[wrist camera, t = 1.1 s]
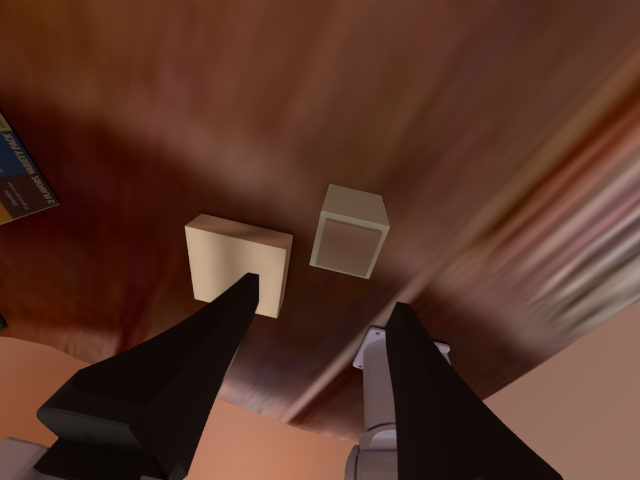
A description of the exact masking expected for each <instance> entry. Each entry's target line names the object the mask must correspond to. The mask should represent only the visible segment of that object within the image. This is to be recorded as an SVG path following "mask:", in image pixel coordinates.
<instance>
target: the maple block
mask: <svg viewBox="0 0 640 480" xmlns="http://www.w3.org/2000/svg"><path fill="white" fill-rule="evenodd" d="M185 230H186V238H187V245H188V252H189V260H190V267H191V274H192V282H193V289H194V296H195V299H198V300H202V301H206V302H211V301H213V300H214V299H215V298H217V297H218V296H219V295H221V294H222V293H223V292H224V291H226V290H227V289H228V288H229V287H231V286H232V285H233V284H234V283H235V282H237V281H238V280H239V279H240V278H241V277H242V276H244V275H245V274H246V273H248V272H250V273H255V274H259V304H258V307H257V310H256V312H255V313H257V314H261V315H265V316H270V317H274V318H277V317H278V314H279V311H280V308H281V305H282V302H283V299H284V292H285V286H286V279H287V273H288V266H289V260H290V253H291V246H292V240H293V235H290V234H286V233H282V232H278V231H273V230H269V229H265V228H261V227H256V226H252V225H248V224H244V223H239V222H235V221H231V220H227V219H222V218H218V217H214V216H210V215H205V214H201V215H199V216H198V217H197V218H195V219H194V220H193V221H191V222H190V223H189V224H187V225H186V226H185Z"/></svg>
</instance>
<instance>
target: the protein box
mask: <svg viewBox="0 0 640 480" xmlns="http://www.w3.org/2000/svg"><path fill="white" fill-rule="evenodd" d="M58 204H60V203H59V201H58V200H57V198H56V197H55V195H54V194H53V192H52V191H51V189H50V188H49V186H48V185H47V183H46V182H45V180H44V178H43V177H42V175H41V174H40V172H39V171H38V169H37V167H36V166H35V164H34V163H33V161H32V160H31V158H30V157H29V155H28V154H27V152H26V150H25V149H24V147H23V146H22V144H21V143H20V141H19V140H18V138H17V137H16V135H15V134H14V132H13V130H12V129H11V127H10V126H9V124H8V123H7V121H6V120H5V118H4V117H3V115H2V113H1V112H0V225H1V224H4V223H7V222H10V221H13V220H15V219H18V218H21V217H24V216H27V215H29V214H32V213H35V212H38V211H41V210H44V209H47V208H50V207H53V206H56V205H58Z"/></svg>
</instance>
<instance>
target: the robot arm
mask: <svg viewBox="0 0 640 480" xmlns="http://www.w3.org/2000/svg"><path fill="white" fill-rule="evenodd" d="M258 304H259V274H255V273H250V272H248V273H246V274H245V275H244V276H242V277H241V278H240V279H239V280H238V281H237V282H235V283H234V284H233V285H232V286H231V287H229V288H228V289H227V290H226V291H224V292H223V293H222V294H221V295H219V296H218V297H217V298H215V299H214V300H213V301H211V302H210V303H209V304H207V305H206V306H204V307H203V308H202V309H200V310H199V311H197V312H196V313H194V314H193V315H191V316H190V317H188V318H187V319H185V320H183V321H182V322H180V323H179V324H177V325H175V326H173V327H172V328H170V329H168V330H166V331H164V332H163V333H161V334H159V335H157V336H155V337H153V338H151V339H150V340H147V341H145V342H143V343H141V344H139V345H137V346H135V347H133V348H131V349H129V350H126V351H124V352H122V353H120V354H117V355H115V356H113V357H110V358H108V359H105V360H103V361H101V362H98V363H96V364H93V365H91V366H88V367H86V368H83V369H81V370H79V371H78V372H77V373H75V374H74V375H73V376H72V377H71V378H70V379H69V380H68V381H67V382H66V383H65V384H64V385H63V386H62V387H61V388H60V389H59V390H58V391H57V392H56V393H55V394H54V395H53V396H52V397H50V398H49V400H47V401H46V402H45V403H44V404H43V405H42V406H41V407H40V408H39V409H38V411H37V418H38V419H39V420H40V421H41V423H43V424H44V425H45V426H46V427H47V428H48V429H50V430H51V431H52V432H53V433H54V434H55V435H57V436H58V437H59V438H58V440H57V441H56V442H55V443H54V444H53V445H52V446H51V448H49V447H46V446H44V445H41V444H38V443H33V442H29V441H25V440H21V439H17V438H12V437H8V438H5V439H4V440H3V441H1V442H0V480H183V479H184V478H185V477H186V476H187V475H188V472H189V468H190V466H191V462H192V460H193V457H194V455H195V452H196V449H197V446H198V443H199V440H200V438H201V435H202V432H203V430H204V427H205V424H206V422H207V419H208V416H209V414H210V411H211V409H212V406H213V403H214V401H215V398H216V396H217V393H218V391H219V388H220V386H221V383H222V381H223V379H224V376H225V374H226V371H227V369H228V367H229V365H230V363H231V360H232V358H233V357H234V355H235V353H236V351H237V349H238V347H239V345H240V343H241V341H242V339H243V337H244V335H245V334H246V332H247V330H248V328H249V326H250V324H251V322H252V320H253V317H254V315H255V312H256V310H257V307H258ZM449 351H450V348H449V346H448V345H446V344H442V343H438V342H434V341H433V340H432V339H431V337H430V336H429V334H428V333H427V331H426V330H425V328H424V327H423V325H422V324H421V322H420V321H419V319H418V318H417V316H416V314H415V313H414V311H413V310H412V308H411V307H410V305H409V304H406V303H401V302H397V303H396V305H395V307H394V309H393V311H392V314H391V316H390V318H389V320H388V322H387V325H386V327H385V330H383V329H379V328H375V327H371V328H370V329H369V330H368V332H367V334H366V336H365V338H364V341H363V343H362V345H361V347H360V349H359V351H358V353H357V355H356V357H355V359H354V361H353V366H354V367H356V368H360V369H363V383H364V416H365V432H360V433H359V445H355V446H354V447H353V448H352V450H351V453H350V455H349V456H348V459H347V462H346V468H345V478H344V480H563V478H562V476H561V475H560V474H559V473H558V472H557V471H555V470H554V469H553V468H552V467H551V466H550V465H549V464H548V463H546V462H545V461H544V460H543V459H542V458H541V457H539V456H538V455H537V454H536V453H535V452H534V451H533V450H532V449H530V448H529V447H528V446H527V445H526V444H525V443H524V442H523V441H522V440H521V439H519V438H518V437H517V436H516V435H515V434H514V433H513V432H512V431H511V430H510V429H509V428H508V427H507V426H506V425H505V424H503V422H502V421H501V420H500V419H499V418H498V417H497V416H496V415H495V414H494V413H493V412H492V411H491V410H490V409H489V408H488V407H487V406H486V405H485V404H484V403H483V402H482V401H481V400H480V399H479V398H478V396H477V395H476V394H475V393H474V392H473V391H472V390H471V389H470V388H469V386H468V385H467V384H466V383H465V382H464V381H463V379H462V378H461V377H460V376H459V375H458V374H457V372H456V371H455V370H454V369H453V367H452V366H451V363H450V360H449V358H448V355H447V353H448V352H449Z"/></svg>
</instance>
